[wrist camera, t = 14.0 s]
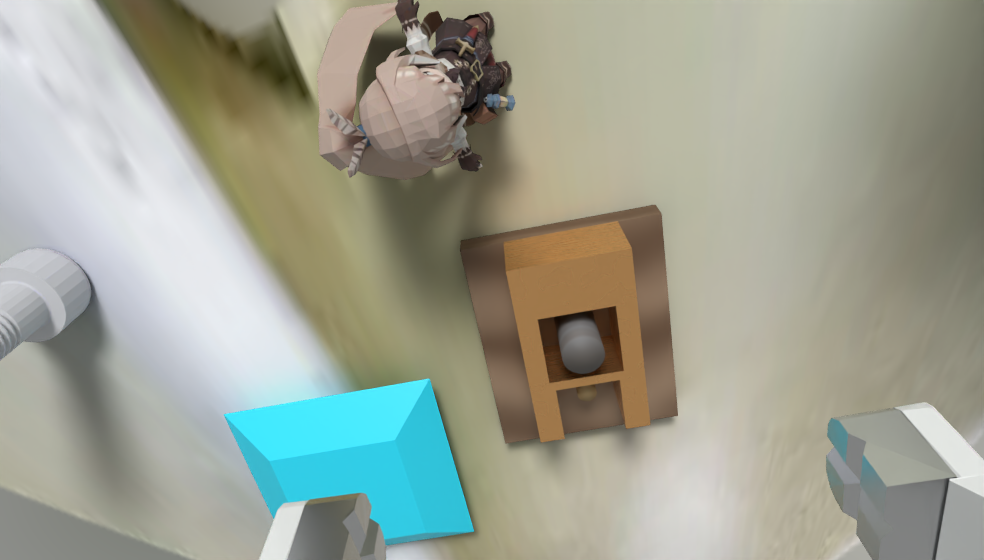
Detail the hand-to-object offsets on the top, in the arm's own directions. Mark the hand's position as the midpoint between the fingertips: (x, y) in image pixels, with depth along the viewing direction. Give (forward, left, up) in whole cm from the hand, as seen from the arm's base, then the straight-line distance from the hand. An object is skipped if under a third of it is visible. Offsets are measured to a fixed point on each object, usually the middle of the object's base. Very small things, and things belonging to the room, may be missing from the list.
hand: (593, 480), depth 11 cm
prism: (+27, +5, -29) cm, 39 cm away
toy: (+1, -5, -28) cm, 29 cm away
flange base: (+9, +11, -28) cm, 32 cm away
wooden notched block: (+8, +10, -27) cm, 29 cm away
